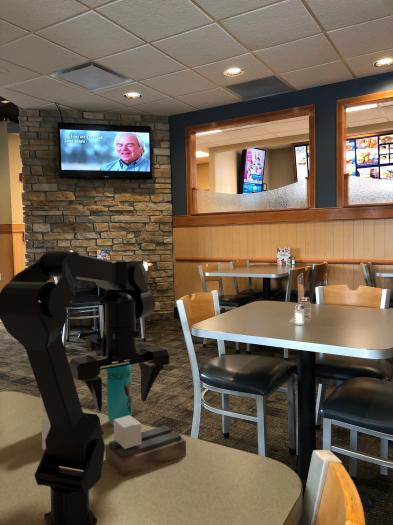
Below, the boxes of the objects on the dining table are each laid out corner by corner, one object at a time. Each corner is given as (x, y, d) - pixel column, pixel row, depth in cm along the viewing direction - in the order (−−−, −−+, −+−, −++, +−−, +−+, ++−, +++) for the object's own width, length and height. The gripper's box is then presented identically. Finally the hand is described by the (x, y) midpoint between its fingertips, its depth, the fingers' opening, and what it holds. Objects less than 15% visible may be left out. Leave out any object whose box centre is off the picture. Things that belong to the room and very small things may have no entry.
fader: (130, 439, 88) (129, 415, 87) (141, 449, 83) (141, 423, 83) (114, 444, 86) (113, 419, 85) (124, 454, 81) (124, 428, 81)
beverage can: (127, 427, 101) (126, 364, 100) (104, 426, 102) (102, 363, 101) (135, 417, 107) (134, 357, 106) (113, 416, 108) (112, 357, 107)
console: (165, 440, 94) (165, 423, 94) (186, 455, 88) (185, 436, 87) (105, 459, 86) (105, 440, 86) (122, 476, 80) (122, 456, 79)
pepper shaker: (42, 443, 93) (41, 400, 93) (62, 440, 95) (61, 397, 94) (42, 451, 90) (40, 406, 89) (62, 448, 91) (61, 404, 90)
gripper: (144, 314, 94) (145, 385, 95) (58, 324, 84) (60, 403, 84) (170, 322, 85) (171, 400, 86) (78, 333, 75) (79, 422, 75)
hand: (121, 405), depth 83 cm, fingers open, 9 cm apart
